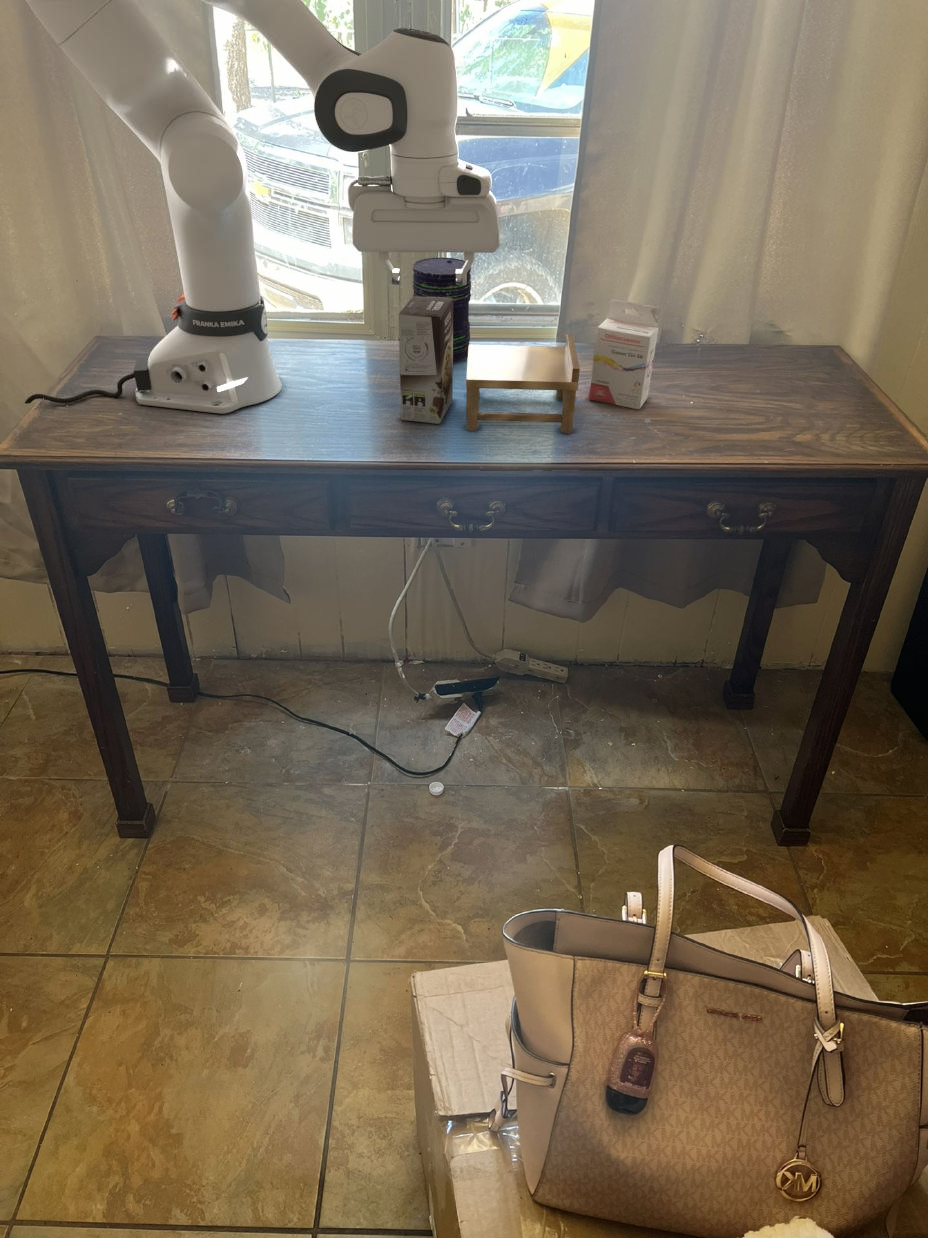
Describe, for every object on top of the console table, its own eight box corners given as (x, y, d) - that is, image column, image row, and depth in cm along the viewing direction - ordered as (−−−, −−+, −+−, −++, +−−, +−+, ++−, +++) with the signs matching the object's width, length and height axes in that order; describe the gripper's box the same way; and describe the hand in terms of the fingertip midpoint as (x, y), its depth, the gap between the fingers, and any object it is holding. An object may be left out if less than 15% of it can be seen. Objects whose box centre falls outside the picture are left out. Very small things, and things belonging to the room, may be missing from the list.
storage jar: (454, 367, 150) (455, 277, 141) (403, 358, 154) (401, 268, 145) (479, 349, 158) (481, 261, 149) (429, 340, 161) (429, 254, 152)
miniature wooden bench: (465, 431, 131) (466, 365, 125) (467, 393, 142) (468, 331, 136) (573, 434, 131) (579, 368, 125) (567, 395, 142) (573, 333, 136)
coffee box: (441, 424, 133) (441, 316, 123) (399, 420, 134) (396, 313, 124) (454, 400, 140) (455, 296, 130) (414, 396, 141) (412, 293, 131)
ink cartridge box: (587, 400, 141) (597, 306, 132) (597, 389, 144) (607, 297, 135) (640, 410, 138) (653, 315, 129) (648, 398, 141) (662, 305, 132)
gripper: (343, 180, 115) (351, 290, 123) (501, 181, 114) (498, 291, 122) (349, 170, 120) (357, 276, 128) (501, 171, 119) (499, 277, 127)
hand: (427, 283), depth 125 cm, fingers open, 8 cm apart
